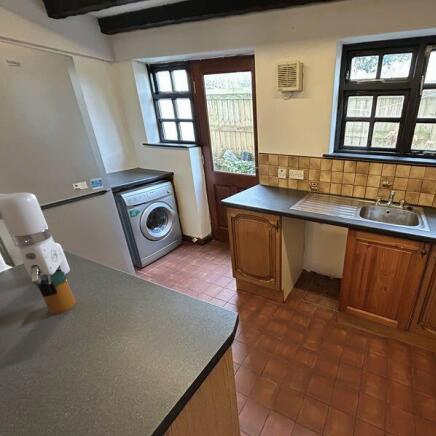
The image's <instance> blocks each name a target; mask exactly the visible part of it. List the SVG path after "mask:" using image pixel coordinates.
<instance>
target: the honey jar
mask: <svg viewBox="0 0 436 436" xmlns="http://www.w3.org/2000/svg"><path fill="white" fill-rule="evenodd" d="M55 288H56V290H57V294H54V295H50V296H46V297H43V296H42V294H41V291H40V289H39V288H38V290H39V293H40V295H41V296H42V299H43V301H44V303H45V305H46V307H47V309H48V311H49V313H50V314H52V315H59V314H62V313H65V312H67V311H70V309H73V307H74V306H75V305H76V303H77V301H76V299H75V296H74V294H73V291H72V289H71V286H70V284H69V282H68V279H67V278H66V280H65V281H64V282H63V283H62V284H60V285H58V286H56V287H55Z"/></svg>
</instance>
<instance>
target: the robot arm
mask: <svg viewBox="0 0 436 436" xmlns="http://www.w3.org/2000/svg"><path fill="white" fill-rule="evenodd" d="M0 220H2V221H3V224H4V225H5V227H6V229H7V232H8V234H9V236H10V238H11V240H12V243H13V244H14V246H15V247H16V248H18V250H19V253H20V257H21V260H22V263H23V265H24V268H25V270H26V272H27V274H28V275H29V278H31V283H32V284H34V285H35V286H36V285H37V286H36V287H39V288H38V290H39V289H40V290H39V292H40V291H41V292H40V295H41V294H42V295H41V296H43V297H46V296H50V295H54V294H57V290H56V288H55V285H54V283H53V282H51V278H50V275H52V274H54V273H55V272H56V271H62V270H61V269H60V268H61V267H60V264H61V262H62V256H61V254H60V252H59V250H58V248H57V246H56V244H55V243H56V242H55V240H54V238H53V235H52V232H51V231H50V229H49V226H48V223H47V221H46V218H45V216H44V213H43V211H42V208H41V205H40V203H39V201H38V198H37V197H36V195H35V194H33V193H31V192H13V193H0ZM52 238H53V239H52ZM41 273H44V275H41ZM45 276H46V280H44V279H43V280H41V278H40V277H45ZM43 297H42V298H43Z"/></svg>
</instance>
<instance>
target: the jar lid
mask: <svg viewBox="0 0 436 436" xmlns="http://www.w3.org/2000/svg"><path fill="white" fill-rule="evenodd" d="M40 278H41V280H43V279H44V280H46V276H45V277H40ZM50 278H51V282H53V283H54V285H55V287H56V286H58V285H60V284H62V283H63V282H64V281H65V280H66V279H67V278H68V277H67V274H65V273H64V272H62V271H56V272H55V273H54V274H52V275H50ZM35 286H36V287H37V285H36V284H35ZM37 289H39V287H37Z"/></svg>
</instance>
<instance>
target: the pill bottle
mask: <svg viewBox="0 0 436 436" xmlns="http://www.w3.org/2000/svg"><path fill="white" fill-rule="evenodd" d="M52 239H53V240H54V238H53V237H52ZM55 244H56V246H57V248H58V250H59V252H60V254H61V256H62V262H61V264H60V267H61V268H60V269H61V270H62V272H64V273H65V275H67V274H69V272H70V271H71V269H70V265H69V263H68V260H67V258H66V254H65V252H64V250H63V248H62V245H61V243H58V242H55ZM40 275H44V273H40Z"/></svg>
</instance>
